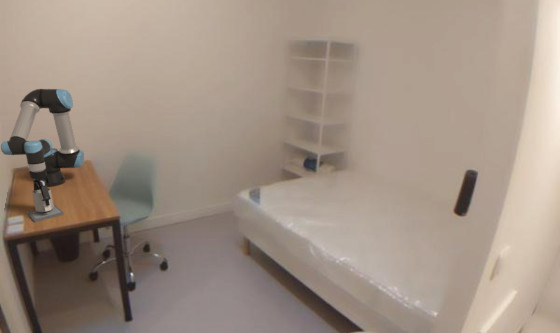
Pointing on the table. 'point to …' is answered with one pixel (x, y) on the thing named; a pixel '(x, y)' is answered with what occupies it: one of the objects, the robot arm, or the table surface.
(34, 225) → the table surface
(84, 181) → the table surface
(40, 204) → the mug
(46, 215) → the coaster
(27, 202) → the table surface
